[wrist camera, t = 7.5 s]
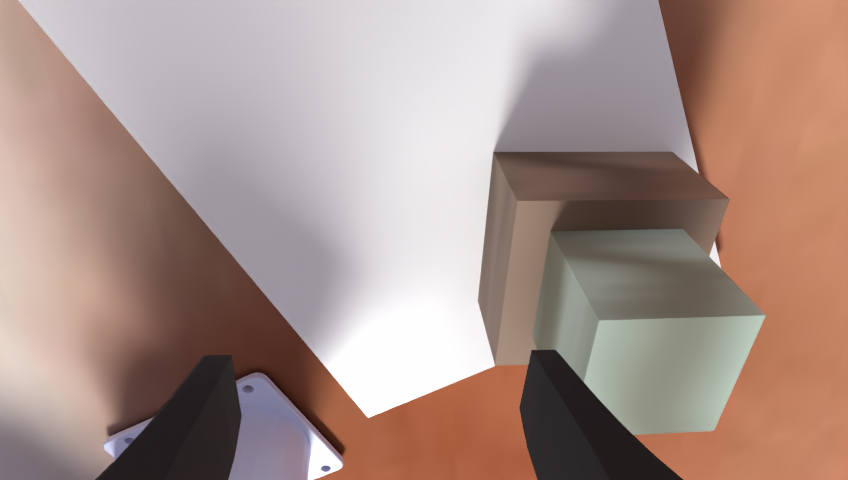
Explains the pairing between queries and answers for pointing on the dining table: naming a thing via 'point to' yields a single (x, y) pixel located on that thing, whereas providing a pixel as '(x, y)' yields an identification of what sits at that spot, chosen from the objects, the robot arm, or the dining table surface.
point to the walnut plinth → (575, 223)
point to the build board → (370, 145)
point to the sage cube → (646, 325)
